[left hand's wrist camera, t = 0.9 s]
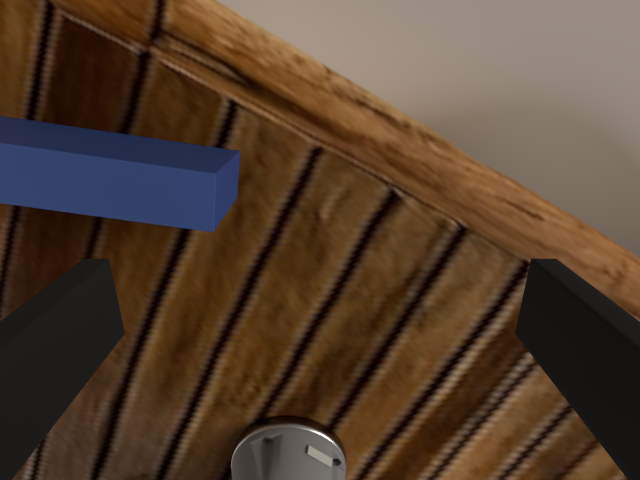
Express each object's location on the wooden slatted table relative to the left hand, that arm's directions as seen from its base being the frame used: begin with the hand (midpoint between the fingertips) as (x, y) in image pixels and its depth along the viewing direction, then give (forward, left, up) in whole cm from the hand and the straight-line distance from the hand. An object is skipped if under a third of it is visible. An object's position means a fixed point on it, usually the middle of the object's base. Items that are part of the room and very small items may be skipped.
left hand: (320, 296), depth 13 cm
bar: (-9, +19, -28) cm, 35 cm away
